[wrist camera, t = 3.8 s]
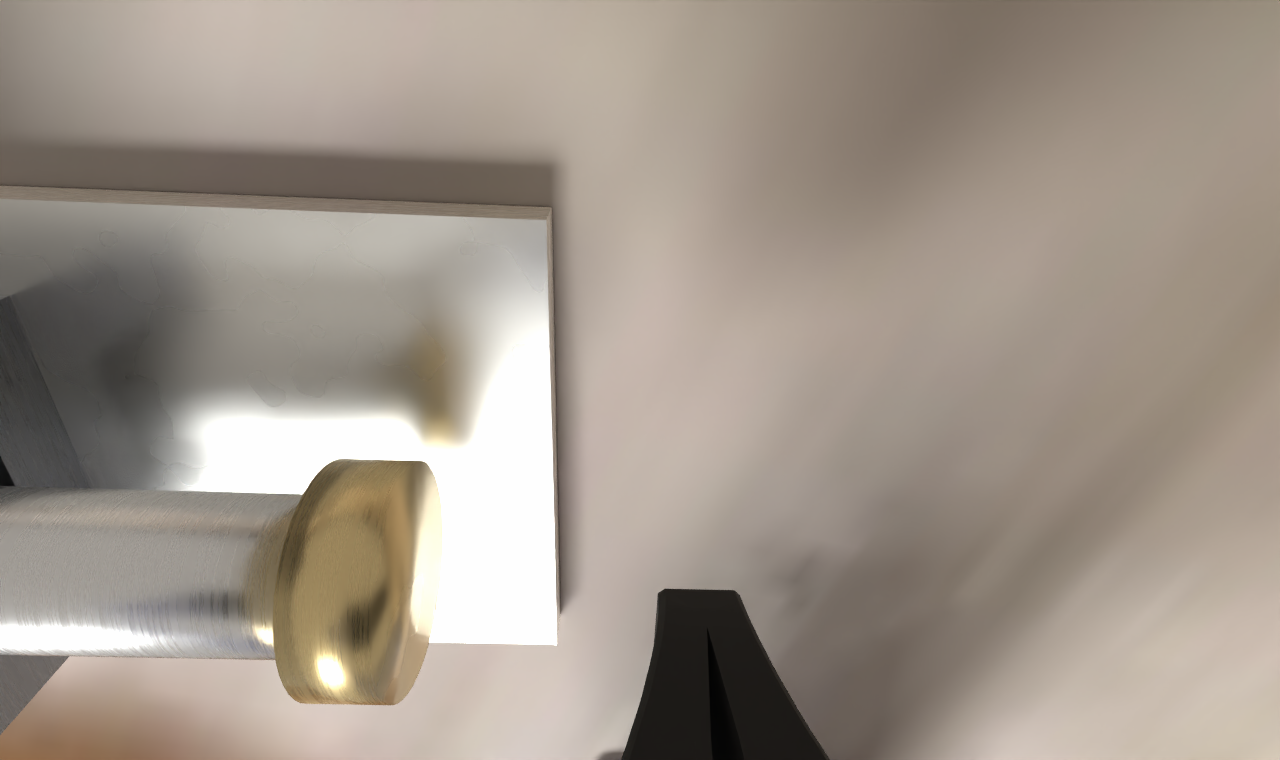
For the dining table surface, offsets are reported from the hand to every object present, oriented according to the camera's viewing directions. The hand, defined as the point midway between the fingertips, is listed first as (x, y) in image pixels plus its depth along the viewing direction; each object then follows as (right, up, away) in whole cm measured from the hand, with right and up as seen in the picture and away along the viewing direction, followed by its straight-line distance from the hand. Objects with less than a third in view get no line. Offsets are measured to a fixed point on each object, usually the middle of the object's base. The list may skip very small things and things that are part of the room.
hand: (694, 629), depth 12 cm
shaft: (-13, +2, +3) cm, 13 cm away
